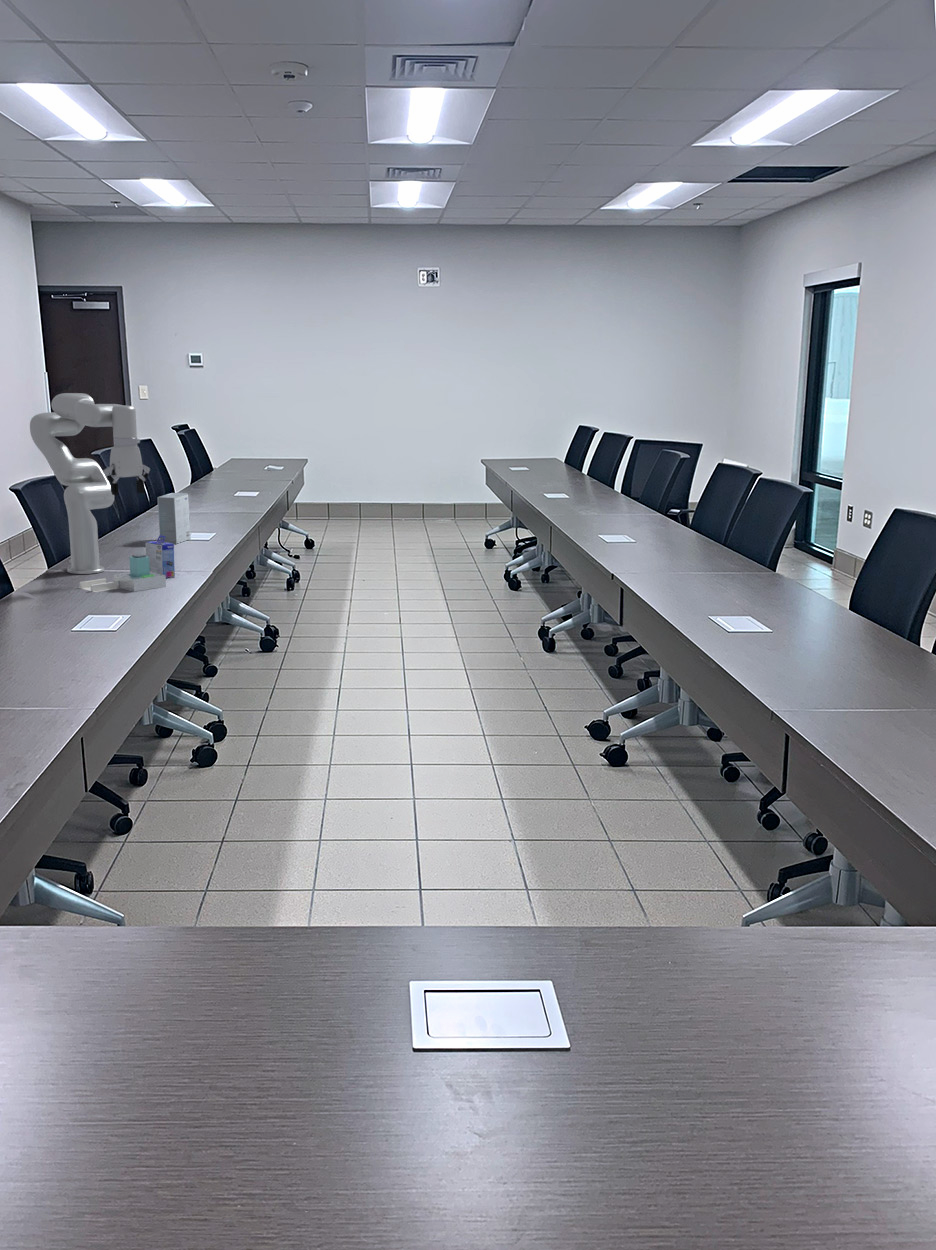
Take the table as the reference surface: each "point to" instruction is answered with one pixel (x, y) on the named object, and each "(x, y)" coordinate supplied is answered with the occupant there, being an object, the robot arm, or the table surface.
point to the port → (140, 581)
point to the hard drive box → (174, 517)
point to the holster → (98, 585)
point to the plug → (139, 565)
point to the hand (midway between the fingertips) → (128, 493)
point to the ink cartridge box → (161, 557)
